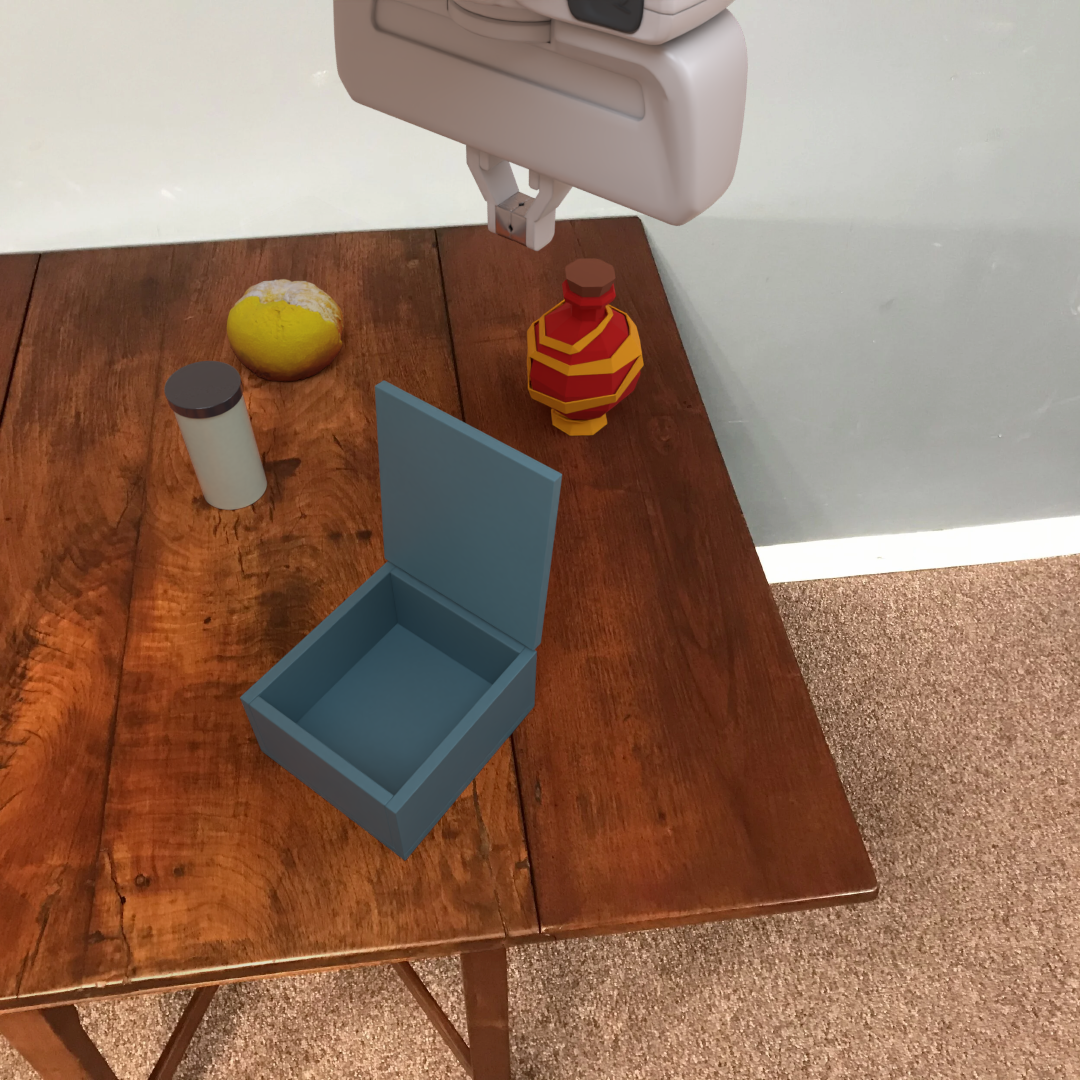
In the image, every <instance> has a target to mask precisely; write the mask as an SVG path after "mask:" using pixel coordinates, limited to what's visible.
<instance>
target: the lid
mask: <svg viewBox="0 0 1080 1080" xmlns="http://www.w3.org/2000/svg"><path fill="white" fill-rule="evenodd" d="M374 396H375V397H374V399H375V414H376V433H377V434H376V435H377V449H378V450H377V451H378V452H377V453H378V466H379V467H378V470H379V484H380V486H379V487H380V488H379V489H380V504H381V519H382V520H381V521H382V538H383V539H382V541H383V555H384V556H383V557H384V560H387V561H390V562H391V563H393V564H394V565H396V566H398V567H399V568H401V569H403V570H404V571H406V572H407V573H409V574H411V575H412V576H414V577H415V578H417V579H419V580H420V581H422V582H424V583H425V584H427V585H428V586H430V587H432V588H433V589H435V590H437V591H438V592H440V593H441V594H443V595H445V596H446V597H448V598H449V599H451V600H453V601H454V602H456V603H458V604H459V605H461V606H462V607H464V608H466V609H467V610H469V611H471V612H472V613H474V614H475V615H477V616H479V617H480V618H482V619H483V620H485V621H487V622H488V623H490V624H492V625H493V626H495V627H496V628H498V629H500V630H501V631H503V632H504V633H506V634H508V635H509V636H511V637H513V638H514V639H516V640H517V641H519V642H521V643H522V644H524V645H526V646H527V647H529V648H530V649H532V650H535V651H536V649H537V648H538V647H539V646H540V645H541V643H542V637H543V636H542V635H543V629H544V620H545V612H546V605H547V597H548V589H549V581H550V573H551V567H552V566H551V565H552V558H553V552H554V551H553V550H554V543H555V542H554V541H555V534H556V526H557V519H558V512H559V511H558V510H559V505H560V495H561V488H562V487H561V486H562V479H563V474H562V473H561V472H559V471H557V470H556V469H554V468H552V467H549V466H548V465H546V464H544V463H542V462H540V461H539V460H536V459H534V458H533V457H531V456H529V455H527V454H525V453H523V452H521V451H519V450H518V449H516V448H513V447H511V446H510V445H508V444H506V443H504V442H502V441H501V440H498V439H497V438H495V437H493V436H491V435H489V434H487V433H485V432H483V431H481V430H479V429H477V428H475V427H474V426H472V425H471V424H468V423H466V422H464V421H463V420H461V419H459V418H457V417H455V416H453V415H451V414H449V413H447V412H445V411H443V410H441V409H439V408H438V407H435V406H434V405H432V404H430V403H428V402H426V401H424V400H423V399H421V398H419V397H416V396H415V395H414V394H411V393H409V392H407V391H405V390H404V389H401V388H399V387H398V386H396V385H394V384H392V383H390V382H388V381H386V380H382V381H380V382H378V383H377V384H376V385H374Z"/></svg>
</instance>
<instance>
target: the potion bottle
mask: <svg viewBox="0 0 1080 1080" xmlns="http://www.w3.org/2000/svg"><path fill="white" fill-rule="evenodd" d="M564 271H565V278H566V279H565V280H564V281H563V282H562V283H561V287H562V295H563V300H561V301H560V302H559V303H557V304H555V306H553V307H551V308H550V309H549V310H548V311H546V312H545V313H543V314H542V315H541V316H540V317H539V318H538V319H536V320H534V321H533V322H532V323H531V324H530V326H529V327H528V329H527V331H526V341H527V343H526V344H527V352H526V353H527V354H526V369H527V390H528V393H529V396H530V398H531V399H532V400H535V401H537V402H539V403H541V404H543V405H544V406H548V407H549V408H550V413H551V423H552V424H551V425H552V426H553V427H555V428H557V429H558V430H560V431H561V432H563V433H565V434H566V435H568V436H569V437H570V436H571V437H573V436H574V437H575V436H594V435H595V434H596V433H598V432H599V431H600V430H602V429H603V428H604V427H606V425H608V418H607V413H608V412H609V411H611V410H613V408H614V407H616V406H617V405H618V404H620V403H621V402H622V401H623V400H625V399H626V398H627V397H628V396H629V395H631V394H632V393H633V392H634V391H635V389H636V387H637V384H638V381H639V379H640V376H641V373H642V372H641V370H642V368H643V367H644V365H645V363H644V358H643V351H642V345H641V339H640V336H639V331H638V326H637V325H636V323H635V322H634V321H633V320H632V318H631V317H630V316H629V314H628V313H627V312H624V311H623V310H620V309H619V308H617V307H615V306H613V305H611V303H612V302H613V301H615V299H616V297H617V294H616V290H615V284H614V282H615V281H616V278H617V277H616V271H615V267H614V265H612V264H610V263H607V261H604V260H602V259H600V258H593V257H592V258H577V259H575V260H573V261H572V262H570V263H568V264H567V265H566V266H564Z"/></svg>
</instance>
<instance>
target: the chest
mask: <svg viewBox="0 0 1080 1080" xmlns="http://www.w3.org/2000/svg"><path fill="white" fill-rule="evenodd" d="M537 659H538V651H537V650H536V649H535V650H532V649H530V648H529V647H527V646H526V645H524V644H522V643H521V642H519V641H517V640H516V639H514V638H513V637H511V636H509V635H508V634H506V633H504V632H503V631H501V630H500V629H498V628H496V627H495V626H493V625H492V624H490V623H488V622H487V621H485V620H483V619H482V618H480V617H479V616H477V615H475V614H474V613H472V612H471V611H469V610H467V609H466V608H464V607H462V606H461V605H459V604H458V603H456V602H454V601H453V600H451V599H449V598H448V597H446V596H445V595H443V594H441V593H440V592H438V591H437V590H435V589H433V588H432V587H430V586H428V585H427V584H425V583H424V582H422V581H420V580H419V579H417V578H415V577H414V576H412V575H411V574H409V573H407V572H406V571H404V570H403V569H401V568H399V567H398V566H396V565H394V564H393V563H391V562H390V561H388V560H387V561H386V562H385V563H384V564H383V565H382V566H381V567H379V569H377V570H376V571H375V572H373V574H371V576H370V577H369V578H368V579H366V580H365V581H364V582H363V583H362V584H361V585H360V586H359V587H357V589H356V590H355V591H353V592H352V593H351V594H350V595H349V596H348V597H347V598H346V599H344V601H343V602H342V603H340V604H339V605H338V606H337V607H336V608H335V609H334V610H333V611H331V613H329V614H328V615H327V616H326V617H325V618H324V619H323V620H322V621H320V623H318V624H317V626H315V627H314V628H313V629H312V630H311V631H310V632H309V633H308V634H307V635H305V636H304V637H303V638H302V639H301V640H300V641H299V642H298V643H297V644H296V645H294V647H292V649H291V650H289V651H288V652H287V653H286V654H285V655H284V656H283V657H282V658H280V659H279V661H277V662H276V663H275V664H274V665H273V666H272V667H271V668H270V669H269V670H268V671H267V672H265V673H264V674H263V675H262V676H261V677H260V678H259V679H258V680H257V681H256V682H254V683H253V684H252V685H251V686H250V687H249V688H248V689H247V690H246V691H245V692H244V693H243V694H241V695H240V697H239V699H240V703H241V704H242V707H243V709H244V711H245V714H246V716H247V719H248V722H249V724H250V726H251V729H252V730H253V734H254V736H255V739H256V741H257V743H258V746H259V748H260V751H261V752H262V753H263V754H265V755H266V756H267V757H268V758H270V759H271V760H273V761H274V762H275V763H277V765H279V766H281V767H282V769H284V770H285V771H287V772H288V773H290V774H291V775H292V776H294V777H295V778H296V779H297V780H298V781H300V782H301V783H303V784H304V785H305V786H307V787H308V788H309V789H311V790H312V791H313V792H314V793H316V794H317V795H318V796H320V797H321V798H322V799H324V800H325V801H326V802H327V803H329V804H330V805H331V806H333V807H334V808H335V809H337V811H339V812H341V813H342V814H343V815H345V816H346V817H347V818H349V820H351V821H353V823H355V824H356V825H358V826H359V827H360V828H362V829H363V830H364V831H365V832H366V833H368V834H369V835H371V836H372V837H373V838H375V839H376V840H377V841H378V842H379V843H381V844H382V845H383V846H385V847H386V848H387V849H389V850H390V851H392V852H393V854H395V855H397V856H399V858H400V859H402V860H403V861H407V860H408V859H409V857H410V856H411V855H412V854H413V853H414V851H415V850H416V849H417V848H418V846H419V845H420V844H421V843H422V842H423V840H424V839H425V838H426V837H427V836H428V834H429V833H430V832H431V831H432V830H433V829H434V827H435V826H436V825H437V824H438V822H439V821H440V820H441V819H442V817H443V816H444V815H445V814H446V813H447V812H448V810H449V809H450V808H451V807H452V806H453V804H454V803H455V802H456V801H457V800H458V798H459V797H460V796H461V795H462V794H463V792H464V791H465V790H466V789H467V788H468V786H469V785H470V784H471V783H472V782H473V781H474V779H475V778H476V777H477V776H478V775H479V773H480V772H481V771H482V770H483V769H484V767H485V766H486V765H487V764H488V762H489V761H490V760H491V759H492V758H493V757H494V755H495V754H496V753H497V752H498V751H499V750H500V748H501V747H502V746H503V745H504V744H505V742H506V741H507V740H508V739H509V738H510V736H511V735H512V734H513V733H514V731H515V730H516V729H517V728H518V726H519V725H520V724H521V723H522V722H523V721H524V719H525V718H526V717H527V716H528V715H529V714H530V712H531V711H532V710H533V709H534V707H535V705H536V704H535V703H536V701H535V700H536V683H537V680H536V679H537Z"/></svg>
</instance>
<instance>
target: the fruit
mask: <svg viewBox="0 0 1080 1080" xmlns="http://www.w3.org/2000/svg"><path fill="white" fill-rule="evenodd" d="M344 327H345V325H344V313H343V312H342V309H341V307H340V305H338V304H337V302H336V301H335V299H334V298H332V297H331V295H330V294H328V293H326V292H325V291H324V290H323V289H321V288H319V287H318V286H317V285H316V284H314V283H312V282H309V281H307V280H294V281H292V280H290V279H286V278H280V279H274V280H264V281H260V282H259V283H257V284H254V285H251V286H249V287H248V288H247V289H246V290H245V291H244V294H243V296H242V297H241V298H239V299H238V300H237V301H236V302H235V303H234V304H233V307H232V308H231V309H230V310H229V312H228V315H227V320H226V337H227V340H228V344H229V346H230V349H231V350H232V352H233V353H234V355H235V356H236V358H237V359H238V360H239V361H240V362H241V363H242V365H244V366H245V367H246V368H247V369H248V370H250V371H252V374H254V375H255V376H256V377H258V378H262V379H263V380H267V381H269V382H296V381H299V380H301V381H303V380H305V379H306V378H310V377H314V376H316V375H318V374H319V373H321V371H322V370H324V369H326V368H327V367H330V366H331V365H332V363H333V362H334V360H335V358H336V357H338V354H339V353H340V351H342V347H343V346H344V343H343V340H342V333H343V332H344Z"/></svg>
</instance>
